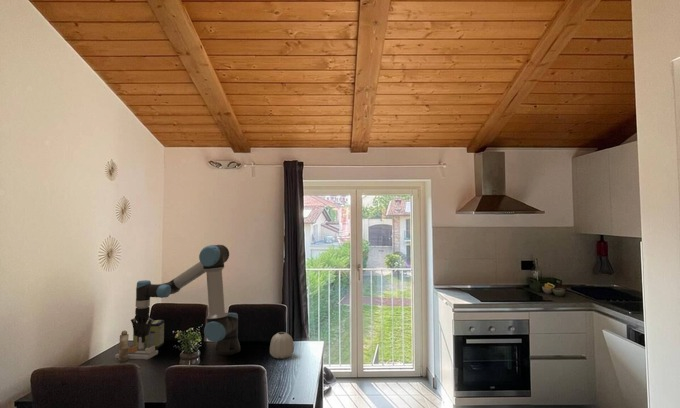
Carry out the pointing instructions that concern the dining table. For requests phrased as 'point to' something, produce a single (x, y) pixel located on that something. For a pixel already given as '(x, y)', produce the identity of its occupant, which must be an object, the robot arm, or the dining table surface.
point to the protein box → (153, 334)
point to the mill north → (123, 346)
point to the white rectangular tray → (140, 354)
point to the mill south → (138, 344)
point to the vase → (281, 345)
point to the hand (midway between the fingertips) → (140, 348)
